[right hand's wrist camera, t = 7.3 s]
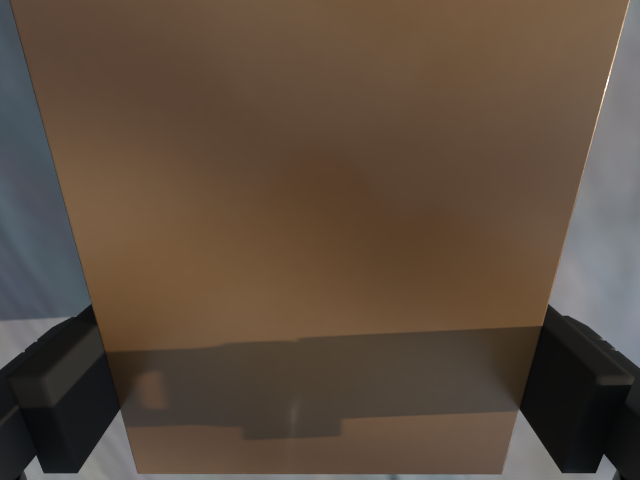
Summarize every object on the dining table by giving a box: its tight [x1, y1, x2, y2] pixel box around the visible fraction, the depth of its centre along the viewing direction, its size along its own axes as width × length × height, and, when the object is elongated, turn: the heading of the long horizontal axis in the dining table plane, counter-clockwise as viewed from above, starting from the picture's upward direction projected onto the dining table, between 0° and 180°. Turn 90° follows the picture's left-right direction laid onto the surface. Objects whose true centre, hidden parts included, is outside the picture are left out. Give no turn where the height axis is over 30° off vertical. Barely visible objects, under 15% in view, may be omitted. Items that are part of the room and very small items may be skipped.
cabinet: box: [9, 0, 630, 474], centre depth 11 cm, size 20×11×10 cm, turn 0°
